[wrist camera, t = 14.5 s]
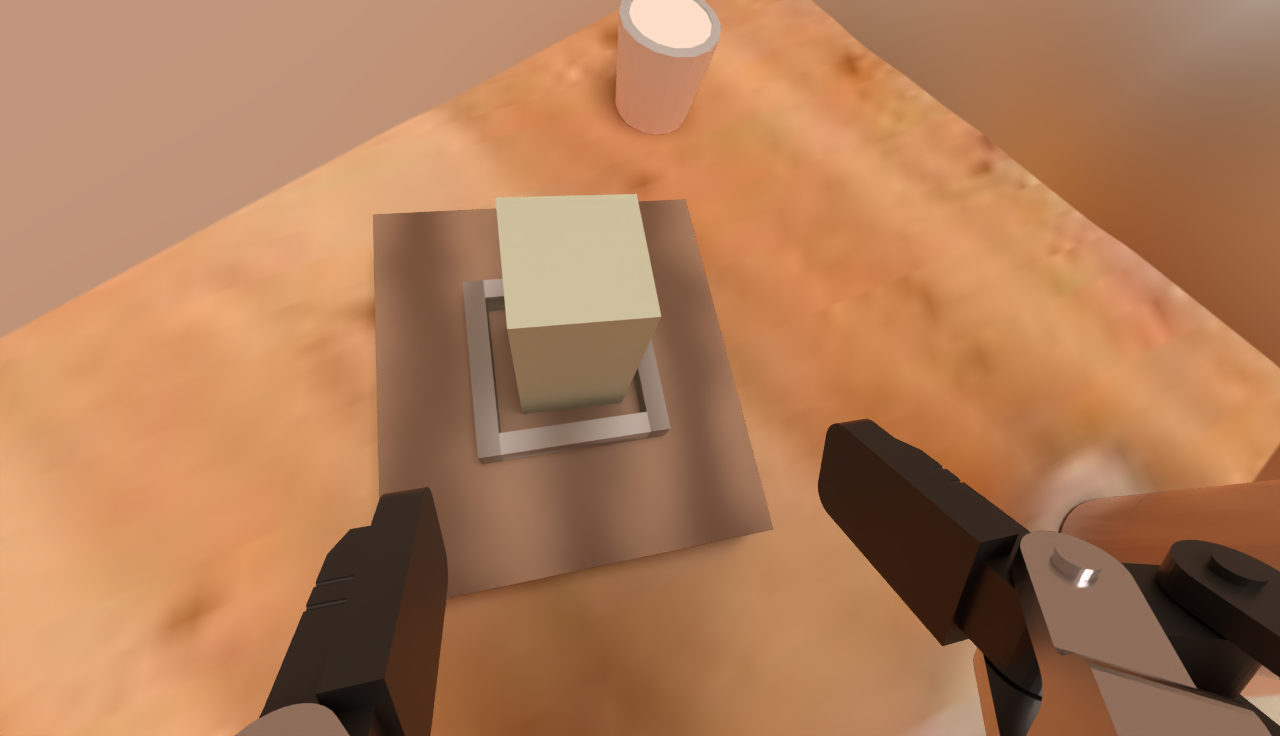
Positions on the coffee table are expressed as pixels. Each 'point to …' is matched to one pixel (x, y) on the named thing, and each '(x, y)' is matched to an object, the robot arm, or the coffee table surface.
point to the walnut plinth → (552, 413)
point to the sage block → (575, 297)
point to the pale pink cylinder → (662, 60)
